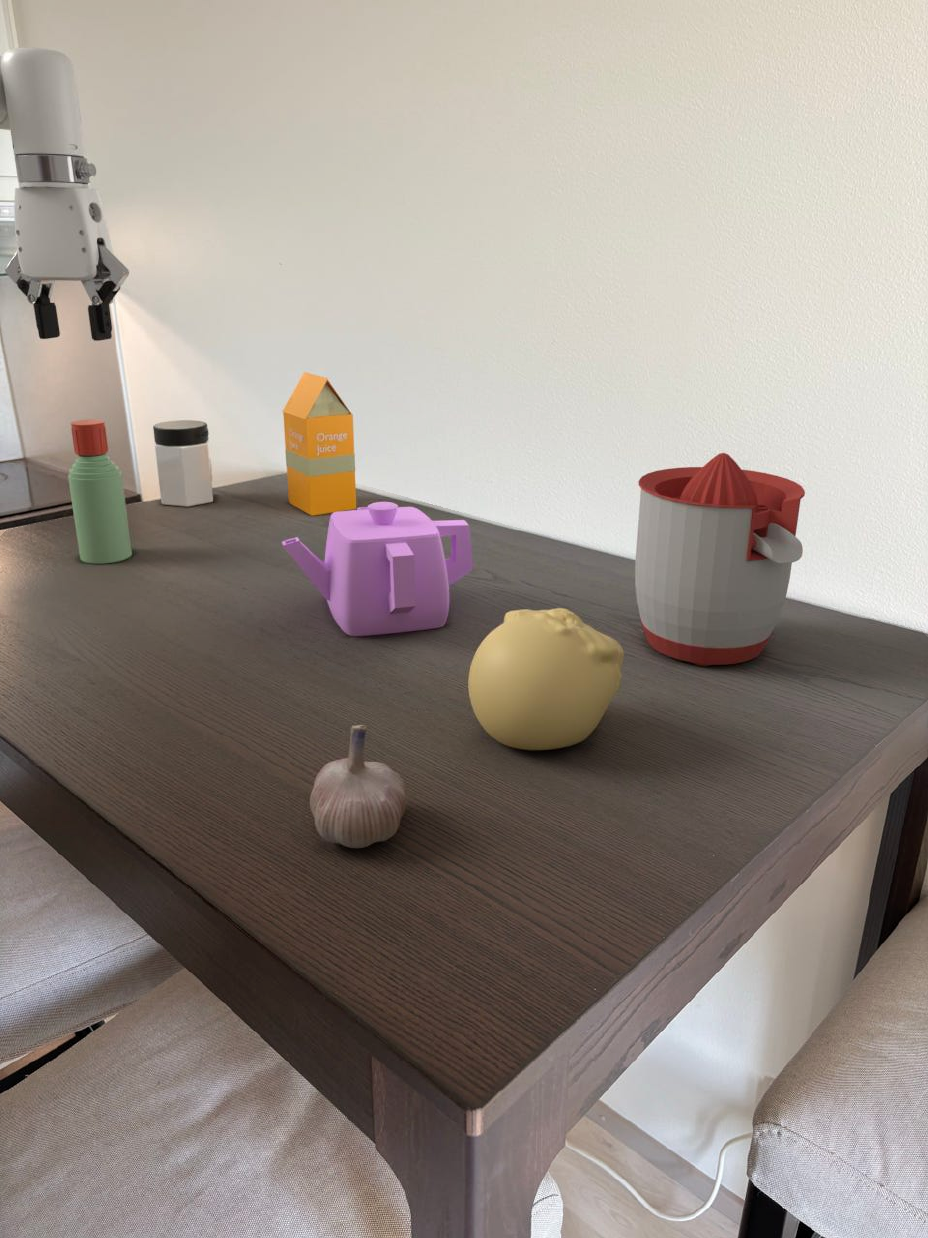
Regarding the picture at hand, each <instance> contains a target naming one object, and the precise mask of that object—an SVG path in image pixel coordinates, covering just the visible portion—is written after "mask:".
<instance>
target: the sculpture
mask: <svg viewBox="0 0 928 1238" xmlns="http://www.w3.org/2000/svg"><path fill="white" fill-rule="evenodd" d="M624 657H625V650H624V648H623V647H622V646H621V644H620V642H618V641H617V640H616V639H614V638H612V637H610V636H608V635H607V634H605V633H602V632H601V631H597V630H596V629H594V628H593V627H592V626H591V625H589V624H587V623H585V622H584V621H583V620H582V619H581V617H580V616H578V615H577V614H575V612H573V611H570V610H569V609H567V608H562V607H557V608H551V609H540V610H532V609H525V608H524V609H517V610H509V611H508V612H506V613H505V614H504V618H503V622H502V623H501V624H500V625H498V626H496V627H495V628H494V629H492V630H491V631H490V632H489V633H488V634H487V636H486V637H485V638H484V639H483V640H482V642H481V643H480V644H479V646H478V647H477V649H476V650H475V653H474V655H473V657H472V661H471V663H470V668H469V672H468V680H467V681H468V682H467V686H468V696H469V701H470V704H471V707H472V710H473V713H474V715H475V717H476V719H477V720H478V722H479V724H480V726H482V729H484V731H485V732H486V733H487V734H488V735H489V736H490V737H492V738H493V739H494V740H496V741H497V742H498V743H501V744H503V745H504V746H506V747H510V748H513V749H518V750H525V751H549V750H557V749H563V748H568V747H571V746H574V745H576V744H579V743H581V742H583V741H584V740H586V739H587V738H588V737H589V736H590V735H591V734H592V733H593V732H594V730H595V729H596V728H597V727H598V725H599V723H600V722H601V720H602V718H603V716H604V715H605V713H606V711H607V709H608V708H609V706H610V703H611V701H612V699H613V698H614V696H615V695H616V694H617V693H618V691H619V690H620V688H621V683H620V682H621V681H622V677H623V675H622V671H621V669H622V666H623V663H624Z"/></svg>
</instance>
